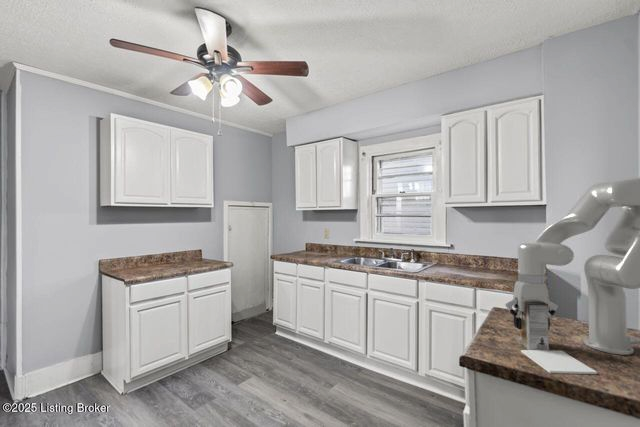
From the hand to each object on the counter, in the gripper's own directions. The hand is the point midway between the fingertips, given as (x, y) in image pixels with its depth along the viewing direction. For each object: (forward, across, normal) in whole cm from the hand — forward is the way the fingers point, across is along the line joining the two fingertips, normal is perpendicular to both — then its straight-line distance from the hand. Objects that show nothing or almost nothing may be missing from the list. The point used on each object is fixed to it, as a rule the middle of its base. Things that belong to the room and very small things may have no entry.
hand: (531, 328), depth 107 cm
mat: (+6, 0, +12) cm, 13 cm away
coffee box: (+6, 0, 0) cm, 6 cm away
